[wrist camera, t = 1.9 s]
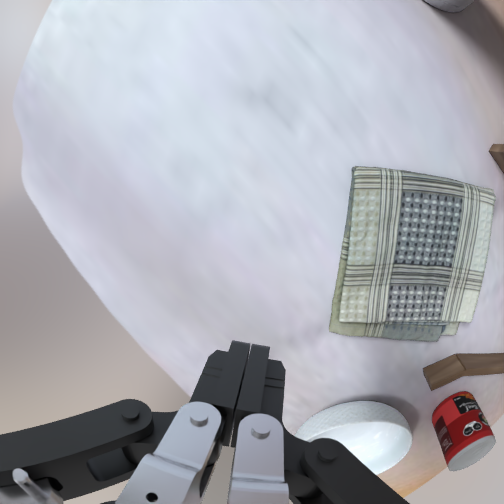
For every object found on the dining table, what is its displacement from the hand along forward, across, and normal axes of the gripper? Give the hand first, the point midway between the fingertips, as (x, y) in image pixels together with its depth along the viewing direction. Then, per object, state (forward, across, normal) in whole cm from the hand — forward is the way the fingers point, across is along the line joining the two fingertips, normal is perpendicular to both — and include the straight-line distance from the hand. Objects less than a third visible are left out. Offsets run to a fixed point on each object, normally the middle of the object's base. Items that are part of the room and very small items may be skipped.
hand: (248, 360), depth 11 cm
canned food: (+19, -33, +22) cm, 44 cm away
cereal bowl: (+19, -15, +26) cm, 35 cm away
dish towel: (+20, -16, 0) cm, 25 cm away
